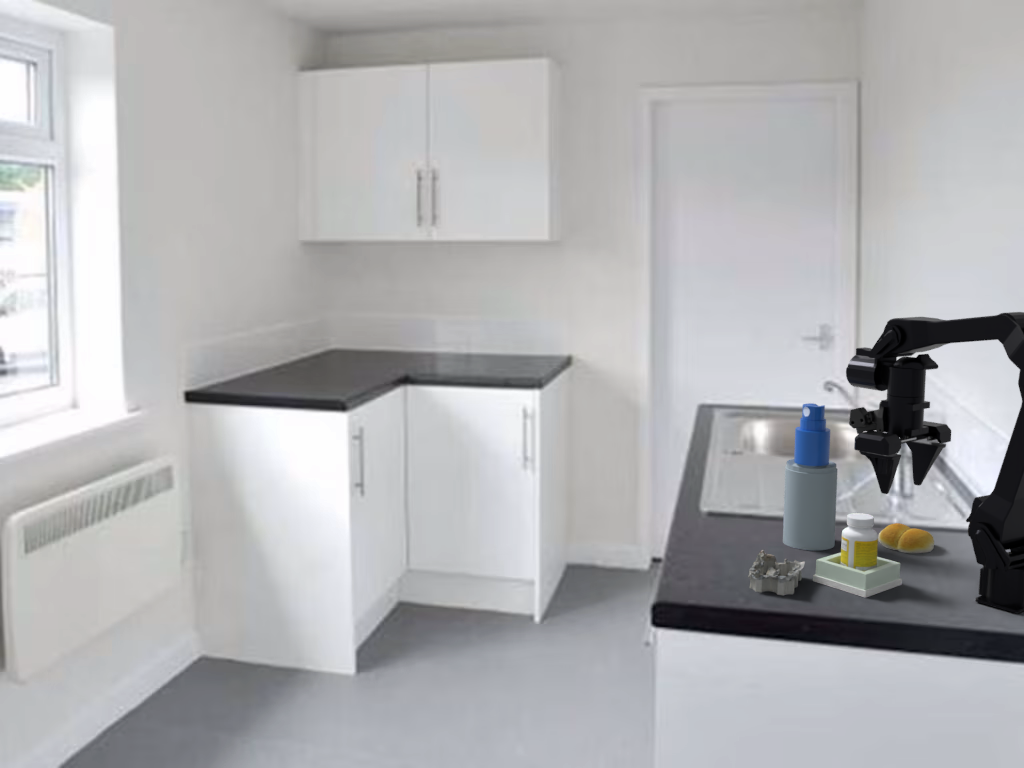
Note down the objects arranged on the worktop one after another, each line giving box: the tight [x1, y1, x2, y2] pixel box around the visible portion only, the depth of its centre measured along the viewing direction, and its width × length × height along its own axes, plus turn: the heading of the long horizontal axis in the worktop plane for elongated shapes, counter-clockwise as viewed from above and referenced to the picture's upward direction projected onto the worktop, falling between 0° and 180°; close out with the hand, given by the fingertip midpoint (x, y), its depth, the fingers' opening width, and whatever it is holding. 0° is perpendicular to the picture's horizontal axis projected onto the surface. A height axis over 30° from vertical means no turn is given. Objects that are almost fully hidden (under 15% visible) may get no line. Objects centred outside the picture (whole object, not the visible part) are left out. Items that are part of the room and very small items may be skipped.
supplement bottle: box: [840, 512, 879, 571], centre depth 160 cm, size 5×5×10 cm
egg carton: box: [747, 549, 806, 596], centre depth 161 cm, size 11×8×4 cm
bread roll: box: [878, 522, 935, 554], centre depth 179 cm, size 8×9×4 cm
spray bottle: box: [782, 402, 838, 551], centre depth 180 cm, size 9×9×25 cm
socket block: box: [812, 551, 903, 598], centre depth 160 cm, size 10×10×4 cm
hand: (901, 489), depth 167 cm, fingers open, 9 cm apart
